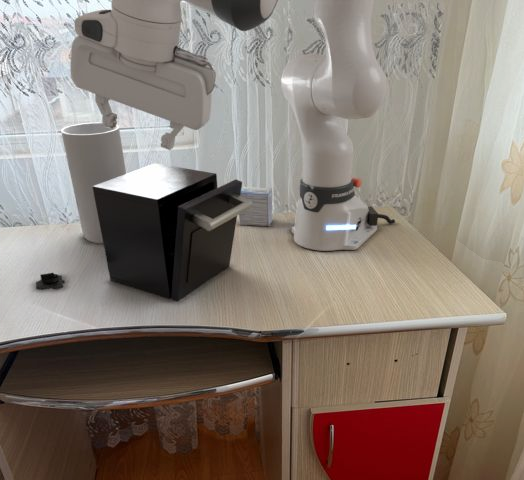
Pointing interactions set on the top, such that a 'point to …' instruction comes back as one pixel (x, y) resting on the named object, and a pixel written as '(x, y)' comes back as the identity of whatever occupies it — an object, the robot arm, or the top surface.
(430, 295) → the top surface
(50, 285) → the black irregular piece
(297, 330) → the top surface
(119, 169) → the cylinder vase
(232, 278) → the top surface
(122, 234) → the oven
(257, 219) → the medicine box
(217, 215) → the oven door
